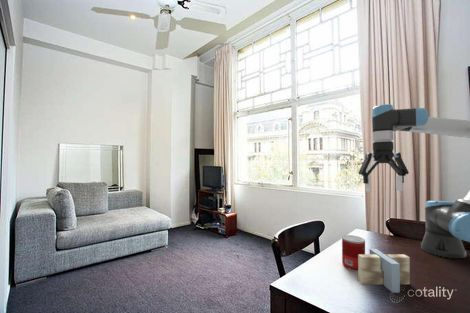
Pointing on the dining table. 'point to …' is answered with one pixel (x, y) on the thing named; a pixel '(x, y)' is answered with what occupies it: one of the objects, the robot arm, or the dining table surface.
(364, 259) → the birch plate
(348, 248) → the canned food
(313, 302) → the dining table surface
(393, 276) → the pale blue plate
